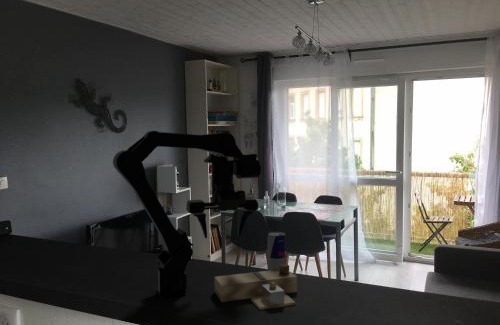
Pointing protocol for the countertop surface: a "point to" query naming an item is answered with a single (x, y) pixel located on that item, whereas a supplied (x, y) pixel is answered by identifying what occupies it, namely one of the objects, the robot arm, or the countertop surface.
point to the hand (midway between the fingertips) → (222, 236)
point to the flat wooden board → (265, 305)
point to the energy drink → (276, 250)
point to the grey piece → (273, 293)
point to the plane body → (253, 283)
